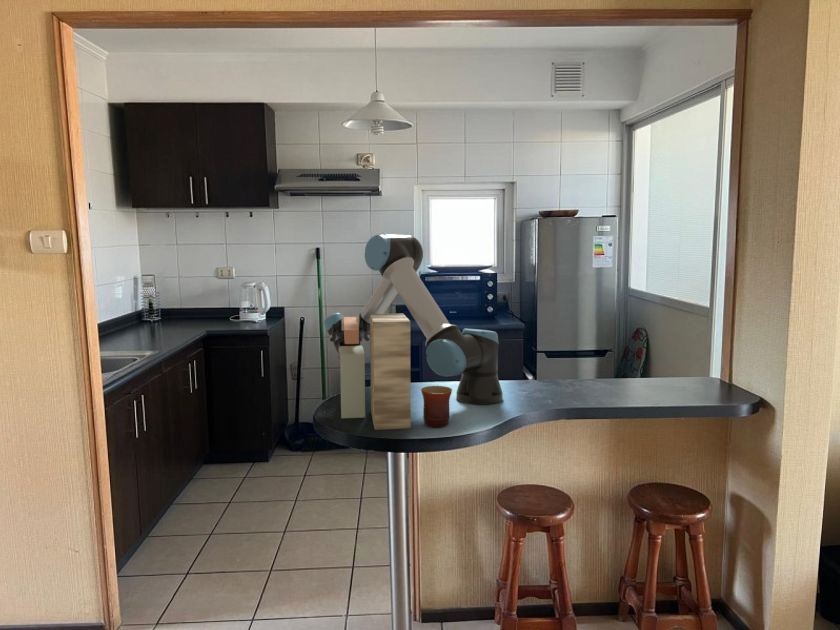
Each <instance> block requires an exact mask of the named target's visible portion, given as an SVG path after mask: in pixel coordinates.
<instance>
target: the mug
mask: <svg viewBox="0 0 840 630" xmlns="http://www.w3.org/2000/svg"><path fill="white" fill-rule="evenodd" d="M420 391H421V395H422V399H423V408H422V412H423V413H422V414H423V416H422V418H423V423H424V425H426V426H427V427H429V428H435V429H441V428H445V427H446V426H448V424H449V423H450V399H451V395H452V392H453V389H452V388H450V387H448V386H444V385H428V386H424V387H422V388H421V389H420Z"/></svg>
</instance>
